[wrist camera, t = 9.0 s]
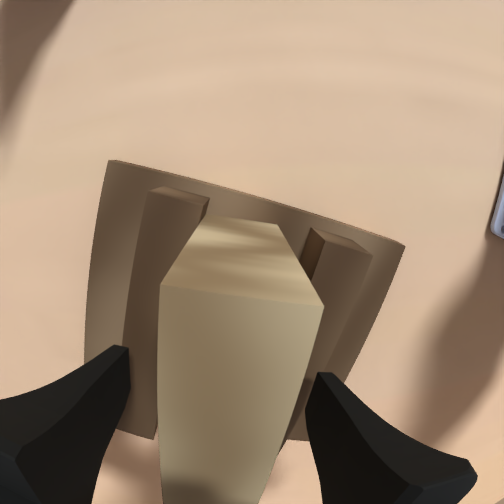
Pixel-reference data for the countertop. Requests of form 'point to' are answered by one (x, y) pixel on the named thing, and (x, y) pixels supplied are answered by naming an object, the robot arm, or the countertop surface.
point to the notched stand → (171, 244)
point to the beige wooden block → (230, 359)
